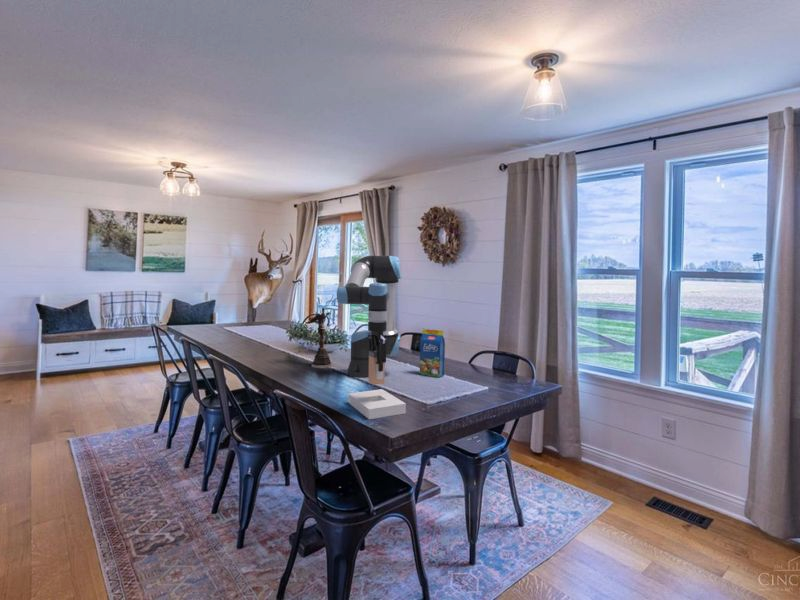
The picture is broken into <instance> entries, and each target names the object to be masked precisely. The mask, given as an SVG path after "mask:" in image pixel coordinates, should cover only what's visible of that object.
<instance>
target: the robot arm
mask: <svg viewBox="0 0 800 600" xmlns="http://www.w3.org/2000/svg"><path fill="white" fill-rule="evenodd" d="M401 268H402V267H401V260H400V257H398V256H394V255H366V256H363V257H360V258H359V259H358V260H356V261H354V263H353V264H352V265H351V268H350V274H349V277H348V280H347V281H346V283H345V285H343V286H338V287H337V289H336V301H337V303H338V304H340V305H341V304H344V305H368V313H367V317H368V322H367V330H360V331H355V332H352V334H351V336H350V361H349V364H348V366H347V371H346V372H347V374H346V375H348V376H350V377H355V378H364V377H365V378H367V377H368V378H369V351H374V350H376V352H377V362H376V379H383V363H385V364H386V363H387V357H391V356H397V355H398V354H399V348H400V341H401V334H400V333H399V330H398V329H396V285H397V284H398V283H399V280H401V279H402V269H401ZM367 279H375V282H376V283H374V282H372V283H369V285H368V286H364V285H365V281H366V280H367Z"/></svg>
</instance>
